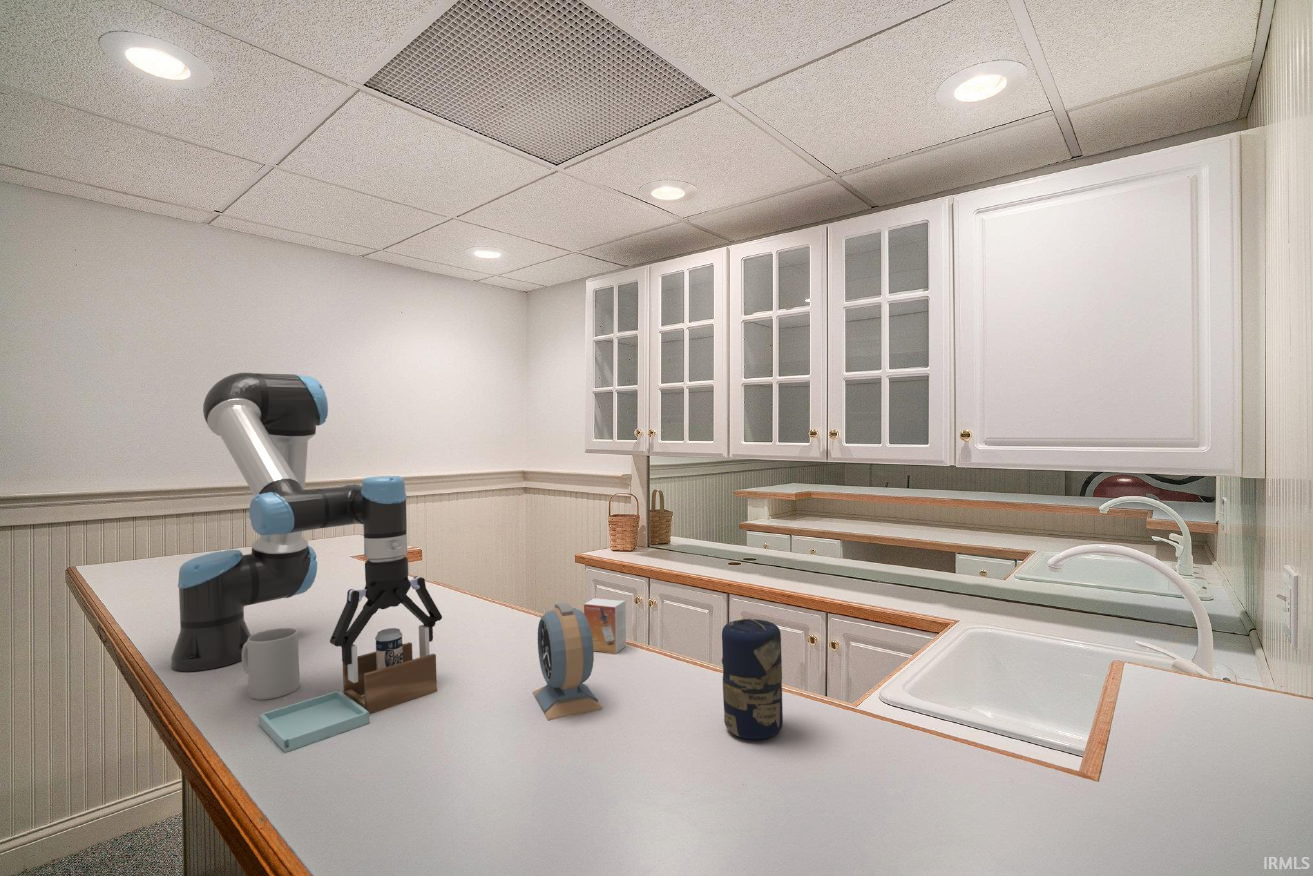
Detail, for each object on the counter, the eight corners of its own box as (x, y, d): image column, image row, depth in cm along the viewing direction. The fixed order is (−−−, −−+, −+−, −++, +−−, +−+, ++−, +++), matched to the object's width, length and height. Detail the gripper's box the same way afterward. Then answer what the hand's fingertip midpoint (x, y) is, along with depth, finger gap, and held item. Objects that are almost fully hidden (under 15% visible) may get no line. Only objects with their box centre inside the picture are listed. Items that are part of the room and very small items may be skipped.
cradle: (343, 697, 118) (342, 660, 118) (410, 676, 127) (409, 642, 127) (367, 714, 110) (366, 675, 110) (436, 691, 120) (435, 654, 120)
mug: (310, 684, 125) (308, 629, 125) (272, 702, 117) (270, 643, 116) (263, 678, 128) (261, 625, 128) (224, 695, 120) (222, 639, 120)
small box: (583, 650, 140) (582, 603, 140) (595, 642, 145) (594, 597, 145) (616, 654, 137) (615, 606, 137) (626, 646, 142) (625, 600, 142)
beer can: (394, 700, 116) (392, 636, 116) (371, 699, 117) (369, 635, 117) (409, 689, 121) (407, 628, 121) (387, 688, 122) (385, 627, 122)
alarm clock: (531, 691, 119) (528, 598, 118) (581, 682, 123) (578, 592, 122) (549, 723, 106) (546, 618, 105) (604, 711, 109) (601, 610, 109)
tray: (259, 725, 107) (258, 714, 107) (339, 700, 117) (338, 690, 117) (284, 752, 98) (284, 741, 98) (369, 722, 107) (369, 712, 107)
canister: (746, 750, 95) (743, 632, 95) (712, 725, 103) (710, 616, 103) (795, 734, 99) (793, 622, 99) (759, 711, 108) (757, 607, 108)
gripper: (322, 572, 107) (327, 696, 107) (457, 549, 125) (460, 655, 125) (307, 567, 112) (312, 685, 112) (438, 545, 130) (442, 647, 130)
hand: (390, 669), depth 119 cm, fingers open, 13 cm apart
